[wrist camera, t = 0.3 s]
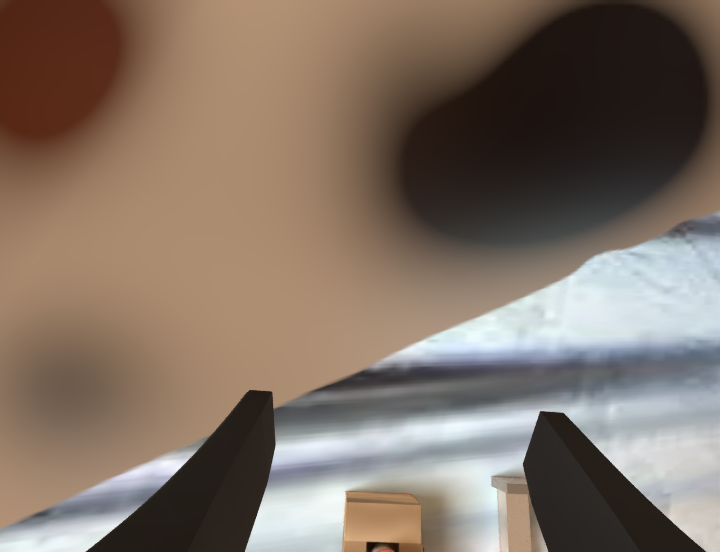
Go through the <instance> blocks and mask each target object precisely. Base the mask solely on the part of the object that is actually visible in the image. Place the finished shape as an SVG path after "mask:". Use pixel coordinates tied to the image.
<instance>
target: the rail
mask: <svg viewBox="0 0 720 552" xmlns="http://www.w3.org/2000/svg"><path fill="white" fill-rule="evenodd" d="M492 486H493V487H495V488H497V494H498V517H499V540H500V552H532V548H531V532H530V516H529V501H528V495H530V494H529V490H528V486H527V481H526V479H524V478H512V477H492Z"/></svg>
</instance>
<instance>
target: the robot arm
mask: <svg viewBox="0 0 720 552" xmlns="http://www.w3.org/2000/svg"><path fill="white" fill-rule="evenodd" d="M275 445H276V444H275V428H274V412H273V396H272V392H270V391H257V390H249V391H248V392H247V393H246V394H245V395H244V397H243V398H242V399H241V401H240V402H239V403H238V404H237V405H236V407H235V408H234V409H233V410H232V411H231V413H230V414H229V415H228V416H227V418H226V419H225V420H224V421H223V422H222V423H221V425H220V426H219V427H218V428H217V429H216V431H215V432H214V433H213V434H212V435H211V436H210V437H209V438H208V439H207V441H206V442H205V443H204V444H203V445H202V446H201V447H200V448H199V449H198V451H197V452H196V453H195V454H194V455H193V456H192V457H191V458H190V459H189V460H188V461H187V462H186V463H185V464H184V465H183V466H182V467H181V468H180V469H179V470H178V471H177V472H176V473H175V474H174V475H173V476H172V477H171V478H170V479H169V480H168V481H167V482H166V483H165V484H164V485H163V486H162V487H161V488H160V489H159V490H158V491H157V492H156V493H155V494H154V495H153V496H151V497H150V498H149V499H148V500H147V501H146V502H145V503H144V504H143V505H142V506H140V507H139V508H138V509H137V510H136V511H135V512H134V513H132V514H131V515H130V516H129V517H128V518H127V519H126V520H124V521H123V522H122V523H121V524H119V525H118V526H117V527H116V528H115V529H113V530H112V531H111V532H110V533H109V534H107V535H106V536H105V537H104V538H102V539H101V540H100V541H99V542H98V543H96V544H95V545H94V546H92V547H91V548H90V549H89V550H87V551H86V552H245V549H246V546H247V543H248V540H249V537H250V534H251V531H252V528H253V525H254V522H255V519H256V516H257V513H258V510H259V507H260V504H261V501H262V498H263V495H264V492H265V489H266V486H267V482H268V478H269V473H270V469H271V464H272V460H273V455H274V450H275ZM523 467H524V472H525V476H526V481H527V486H528V490H529V494H530V498H531V502H532V506H533V509H534V512H535V515H536V517H537V520H538V523H539V526H540V529H541V532H542V535H543V538H544V540H545V543H546V546H547V549H548V552H706V551H705V550H704V549H702V548H701V547H700V546H699V545H698V544H696V543H695V542H694V541H693V540H692V539H691V538H689V537H688V536H687V535H686V534H685V533H684V532H683V531H681V530H680V529H679V528H678V527H677V526H676V525H675V524H674V523H673V522H672V521H671V520H669V519H668V518H667V517H666V516H665V515H664V514H663V513H662V512H661V511H660V510H659V509H658V508H657V507H655V506H654V505H653V504H652V503H651V502H650V501H649V500H648V499H647V498H646V497H645V496H644V495H643V494H642V493H641V492H640V491H639V490H638V489H637V488H636V487H635V486H634V485H633V484H632V483H631V482H630V481H629V480H628V479H627V478H626V477H625V476H624V475H623V474H622V473H621V472H620V471H619V470H618V469H617V468H616V467H615V466H614V465H613V464H612V463H611V462H610V461H609V460H608V459H607V458H606V457H605V456H604V455H603V454H602V453H601V452H600V451H599V450H598V448H597V447H596V446H595V445H594V444H593V443H592V442H591V441H590V440H589V439H588V438H587V437H586V436H585V435H584V434H583V433H582V432H581V431H580V429H579V428H578V427H577V426H576V425H575V424H574V423H573V422H572V421H571V420H570V419H569V418H568V417H567V416H566V415H565V414H564V413H559V412H545V411H540V413H539V416H538V419H537V423H536V426H535V429H534V432H533V435H532V438H531V441H530V444H529V447H528V450H527V453H526V456H525V459H524V462H523Z"/></svg>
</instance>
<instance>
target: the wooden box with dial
mask: <svg viewBox="0 0 720 552" xmlns="http://www.w3.org/2000/svg"><path fill="white" fill-rule="evenodd" d="M377 543H385V544H387V545H389V546H390V548H391V549H392V550H393V551H395V552H424V548H423V543H422V537H421V505H420V504H419V502H418V501H417V500H416V499H415V498H414V497H413V496H412V495H411V494H391V493H369V492H346V491H345V508H344V526H343V544H342V552H370V549H371V548H372V547H373V546H374V545H375V544H377Z"/></svg>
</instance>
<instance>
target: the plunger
mask: <svg viewBox="0 0 720 552" xmlns="http://www.w3.org/2000/svg"><path fill="white" fill-rule="evenodd" d="M370 552H395V551H393V550H392V549H391V548H390V546H389V545H387V544H385V543H377V544H375V545H374V546H373V547H372V548H371V549H370Z"/></svg>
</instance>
